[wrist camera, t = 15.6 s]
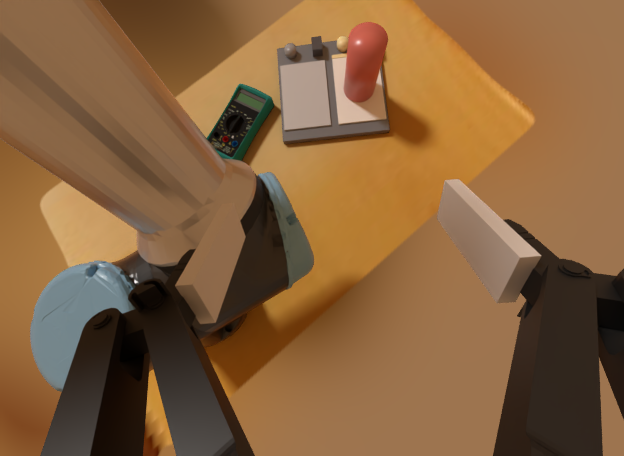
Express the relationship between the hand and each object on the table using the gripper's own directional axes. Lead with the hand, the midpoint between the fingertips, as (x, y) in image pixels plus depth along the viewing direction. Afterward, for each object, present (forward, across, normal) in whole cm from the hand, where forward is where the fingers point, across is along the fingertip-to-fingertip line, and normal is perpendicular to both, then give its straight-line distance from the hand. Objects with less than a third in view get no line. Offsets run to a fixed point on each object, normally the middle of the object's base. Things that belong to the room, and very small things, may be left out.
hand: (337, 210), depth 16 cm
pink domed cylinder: (+38, +7, +1) cm, 39 cm away
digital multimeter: (+36, -16, -3) cm, 40 cm away
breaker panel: (+40, +2, +1) cm, 40 cm away
